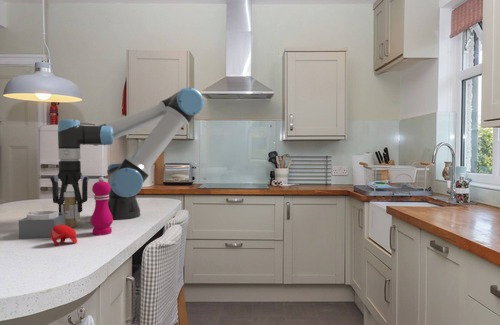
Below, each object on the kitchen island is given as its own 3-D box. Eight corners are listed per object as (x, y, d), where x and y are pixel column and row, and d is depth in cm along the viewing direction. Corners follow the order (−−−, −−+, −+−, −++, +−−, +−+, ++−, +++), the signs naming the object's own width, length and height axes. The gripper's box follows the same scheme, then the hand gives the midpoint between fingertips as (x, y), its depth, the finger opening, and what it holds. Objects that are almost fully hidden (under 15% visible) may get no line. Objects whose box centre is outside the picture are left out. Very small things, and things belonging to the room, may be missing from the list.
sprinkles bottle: (62, 226, 138) (61, 191, 137) (74, 224, 141) (73, 190, 140) (67, 228, 135) (66, 192, 134) (79, 226, 138) (78, 191, 138)
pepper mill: (117, 231, 129) (116, 176, 128) (103, 236, 122) (102, 177, 122) (101, 230, 131) (100, 175, 131) (86, 234, 125) (85, 177, 124)
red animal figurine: (44, 237, 108) (61, 226, 108) (49, 226, 114) (65, 216, 114) (62, 254, 112) (79, 244, 112) (66, 243, 117) (82, 234, 117)
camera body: (65, 230, 131) (65, 209, 131) (54, 237, 121) (53, 214, 121) (33, 231, 130) (32, 210, 129) (19, 238, 120) (18, 215, 119)
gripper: (41, 160, 132) (42, 223, 133) (90, 160, 134) (91, 222, 135) (49, 160, 139) (50, 219, 140) (96, 159, 142) (97, 218, 143)
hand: (70, 220), depth 138 cm, fingers closed on sprinkles bottle, 4 cm apart
